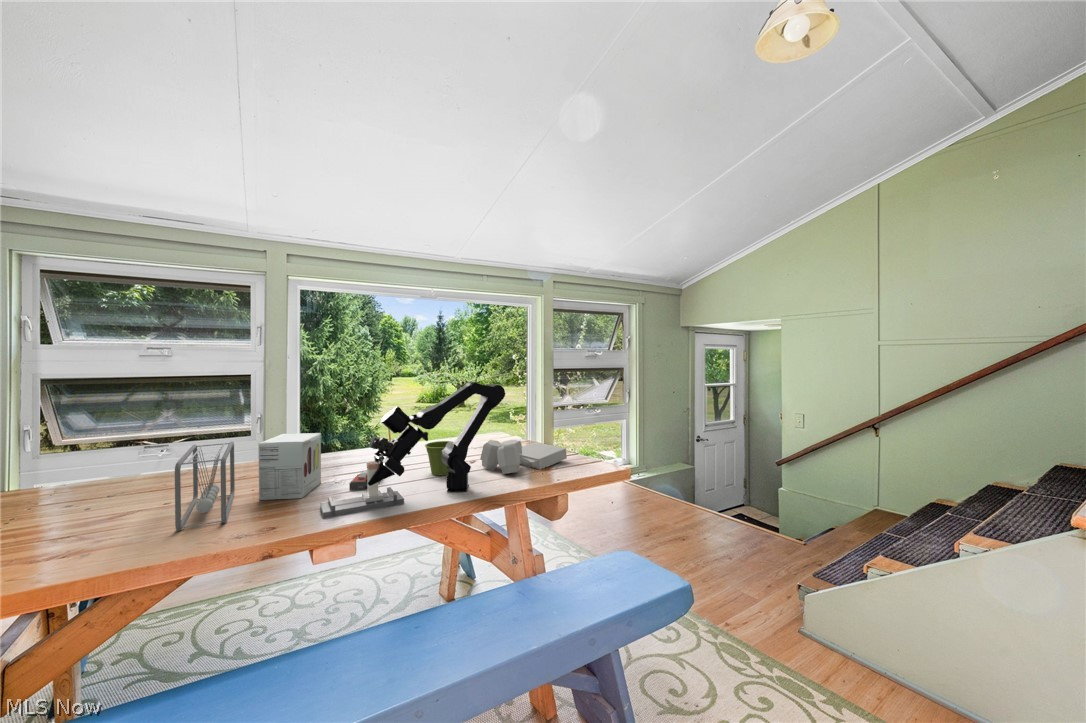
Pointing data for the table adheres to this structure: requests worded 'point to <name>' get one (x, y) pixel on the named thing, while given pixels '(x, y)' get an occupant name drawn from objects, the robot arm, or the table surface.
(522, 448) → the game console
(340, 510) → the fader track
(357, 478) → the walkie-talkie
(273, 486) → the supplement box
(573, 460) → the table surface
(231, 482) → the newton's cradle
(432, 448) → the plant pot
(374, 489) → the lever
